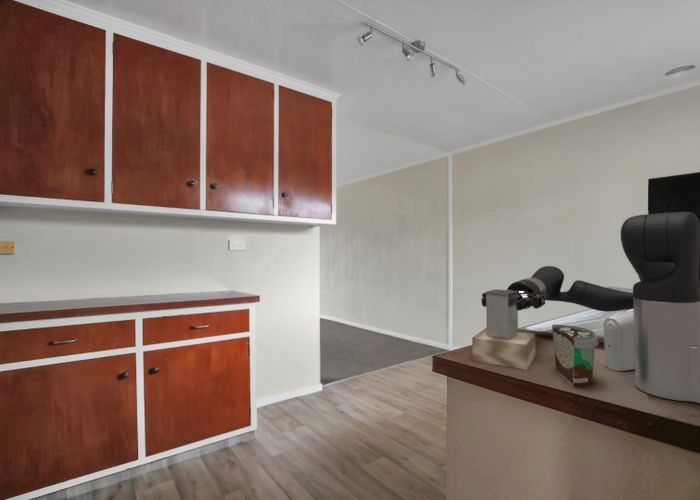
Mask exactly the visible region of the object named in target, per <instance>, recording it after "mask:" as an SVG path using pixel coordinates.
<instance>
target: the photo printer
mask: <svg viewBox="0 0 700 500" xmlns="http://www.w3.org/2000/svg"><path fill="white" fill-rule="evenodd" d="M603 340H604V341H603V342H604V343H603V344H604V345H603V346H604V347H603V348H604V365H605V366H606V367H607V368H608V370H609V369H610V370H612V371H616V372H623V371H630V370H635V350H634V311H620V312H617V313H614V314H612V315H610V316H608V317H607V318H605V319H604V322H603Z"/></svg>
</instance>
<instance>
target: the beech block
mask: <svg viewBox="0 0 700 500" xmlns="http://www.w3.org/2000/svg"><path fill="white" fill-rule="evenodd" d="M471 339H472V340H471V343H472V345H471V346H472V347H471V348H472V349H471V350H472V362H477V363H484V364H491V365H495V366H503V367H508V368H509V367H510V368H514V369H520V370H525V371H527V370H528V369H529V367H530V366H531V364H532V363H533V361H534V358H536V333H535V332H534V333H533V332H525V331H518V336H516V337H514V338H512V339H509V340H506V339H501V338H496V337H491V336H487V327H485V328H483V329H482V330H481V331H479V332H478V333H477V334H476V335H474V336H472V338H471Z"/></svg>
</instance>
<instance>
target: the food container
mask: <svg viewBox="0 0 700 500" xmlns="http://www.w3.org/2000/svg"><path fill="white" fill-rule="evenodd" d="M551 325H552V327H551V334H552V342H553V357H554V358H553V359H554V371H556V372H557V373H558V374H559V375H560V376H561V378H563V379H564V380H565V381H566V382H567V383H569V384H570V386H572V387H573V388H574V387H575V388H577V387H579V388H581V387H587V386H590V385H592V383H593V381H594V380H593V377H594V363H595V361H594V360H595V347H597V346H599V340H598V336H597V335H596V332H595V331H593V330H591V329H588V328H586V327H580V326H574V325H567V324H551Z"/></svg>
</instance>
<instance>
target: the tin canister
mask: <svg viewBox="0 0 700 500" xmlns="http://www.w3.org/2000/svg"><path fill="white" fill-rule="evenodd" d="M485 293H486V307H485V310H486V311H485V313H486V316H485V317H486V320H485V321H486V325H485V326H486V327H485V328H487V336H491V337H496V338H501V339H506V340H509V339H512V338H514V337H516V336H518V332H519V322H518V321H519V317H518V316H519V315H518V311H519V310H516V301H518V291H509V290H507V289H492V290H487V291H485Z"/></svg>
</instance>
